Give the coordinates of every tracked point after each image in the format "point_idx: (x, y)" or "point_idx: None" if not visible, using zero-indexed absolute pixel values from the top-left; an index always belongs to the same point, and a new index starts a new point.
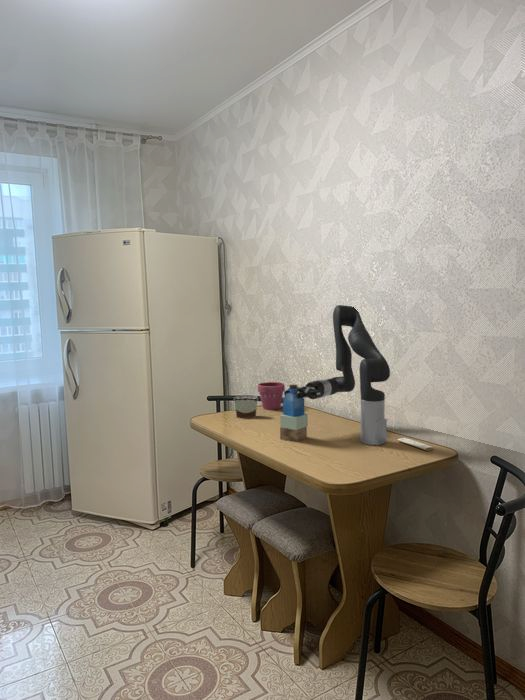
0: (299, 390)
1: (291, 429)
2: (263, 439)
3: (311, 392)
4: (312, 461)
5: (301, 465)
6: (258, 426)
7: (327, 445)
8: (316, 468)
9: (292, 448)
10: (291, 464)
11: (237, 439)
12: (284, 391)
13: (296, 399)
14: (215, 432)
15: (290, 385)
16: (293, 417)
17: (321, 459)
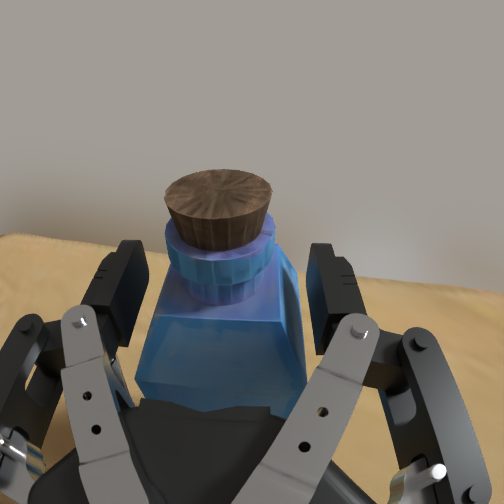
0: (274, 416)
1: None
2: (313, 344)
3: (15, 331)
4: (49, 286)
5: (65, 258)
6: (487, 427)
7: (57, 430)
8: (33, 262)
9: (146, 335)
10: (86, 251)
11: (366, 290)
12: (327, 245)
13: (161, 290)
14: (463, 288)
15: (238, 176)
16: None
17: (34, 307)
